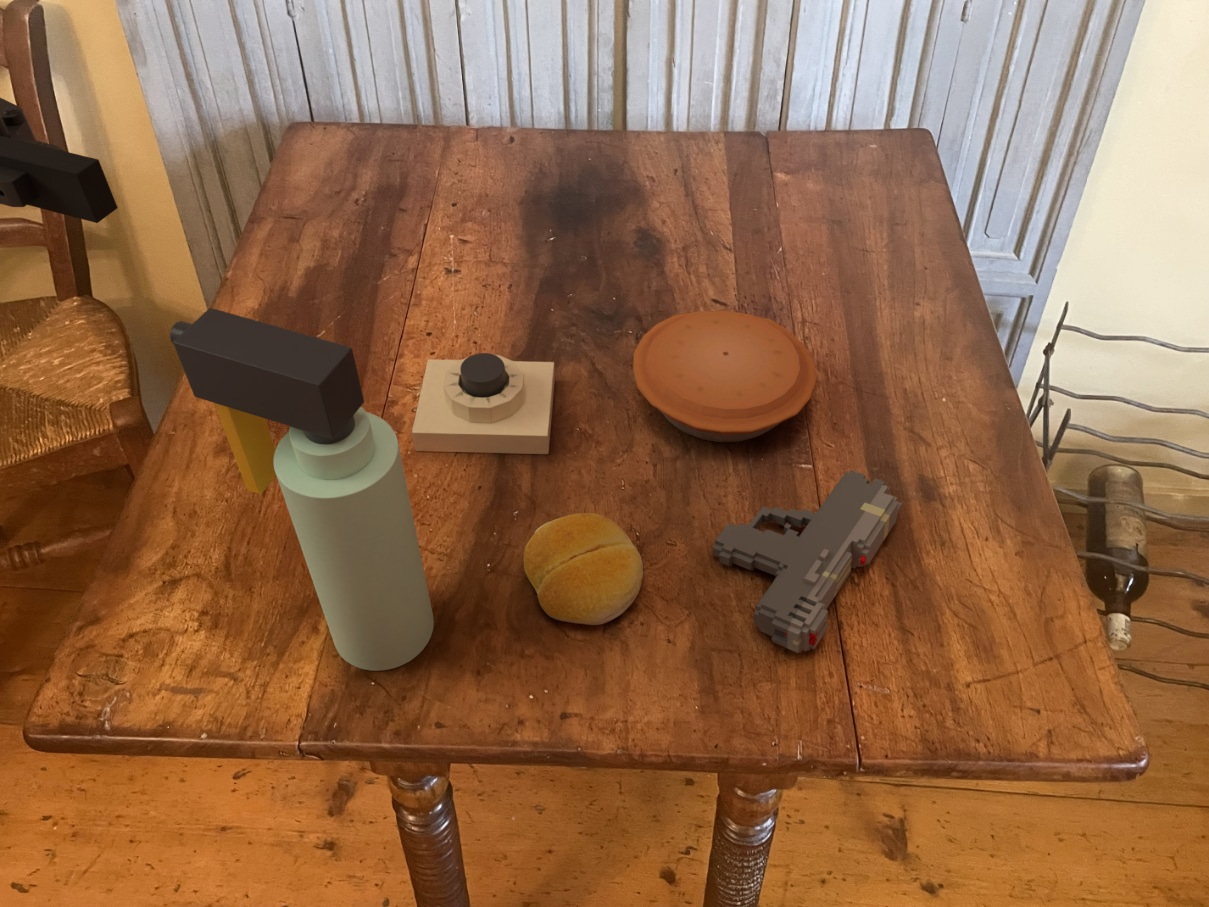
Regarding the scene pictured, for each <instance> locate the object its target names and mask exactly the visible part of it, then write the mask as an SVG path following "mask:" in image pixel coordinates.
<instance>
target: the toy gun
mask: <svg viewBox="0 0 1209 907" xmlns="http://www.w3.org/2000/svg"><path fill="white" fill-rule="evenodd" d="M885 484H886V481H884V480H882V479H879V478H874V479H873V481H872V482H871V483H870V479H867V478H866V474H864V473H862V472H858V471H855V470H852V469H850V470H849V471H848V472H846V471H845V472H844V474H843V475H842V476H841V478H840V479H839V481H838V482H836V484H835V486H834V487H833V489H832V490H831V491H830V493H829V495H827V497H826V499H825V500H824V501H823V503H822V504H821V505H820V507H819V508H818V509H817V511H816V512H813V511H811V510H808V509H806V508H802V510H797V509H794V508H790V509H789V510H786V509H783V508H780V507H777V506H773V508H769V507H767V506H764V505H763V506H762V507H760V509H759V510H758V512H757V513H756V514H755V515H754V517H753V518H752V520H750V523H748V525H747V524H744V523H739V524H738V525H736V524H734V523H730V522H729V523H727V524H726V526H725V527H724V528H723V529H722V530H721V532H720V533H719V534H718V536H717V537H716V538H715V540H714V545H713V546H712V555H713V556H715V557H717V558H718V559H719V560H718V561H719V563H721V564H722V565H725V566H728V567H733V566H734V565H737V566H739V567H741V568H744V569H746V570H748V571H753V572H754V571H755V569H758V570H759V571H762V572H765V573H767V574H769V575H772V576H775V578H774V580H773V582H772V583H771V584H770V586H769V587H768V589H767V590H766V591H765V592H764V594H763V596H762V597H761V598H760V600H759V601H758V603H756V606H755V610H754V612H753V626H756V627H758V631H759V632H761V633H764V634H766V635H768V636H771V642H772V643H775V644H777V645H779V646H781V647H783V648H786V649H788V650H790V651H792V652H794V653H797V654H799V653H802V651H804V652H809V651H810V649H811V650H815V649H816V647H817V646H818V644H819V643H820V641H821V640H822V639H823V636H824V635H825V633H826V632H827V630H828V617H829V611H828V610H827V609H828V608H829V606H830V605H831V603H832V602H833V600H834V598H835V597H836V595H837V594H838V592H839V591H840V589H841V588H842V587H843V585H844V583H845V582H846V580H847V579H848V577H849V576H850V574H851V572H852V571H851V570H852V568H853V569H856V568H857V567H859V568H863V567H864V566H869V565H870V564H871V561H872V560H873V558H874V557H875V555H876V553H877V552H878V550H879V549H880V547H881V546H882V545H883V543H884V541H885V539H886V538H887V536H888V535H889V533H890V532H891V530H892V528H893V527H894V525H895V524H896V522H897V517H898V513H899V511H900V510H901V508H902V505H903V503H902V502H900V501H898V497H897V496H894V495H891V494H890V486H889V485H888V486H887V485H885ZM769 522H773V523H776V524H779V525H781V526H783V534H781V533H779V532H776V531H773V530H770V529H766V530H765V531H762V530H760V529H759V527H760V526H761V525H762V523H765V524H769ZM792 526H795V527H797V528H802V527H803V526H805V528H804V529H803V530H802V532H801V534H799V532H798V531H796V530H793V529H792Z"/></svg>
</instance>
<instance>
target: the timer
mask: <svg viewBox="0 0 1209 907" xmlns="http://www.w3.org/2000/svg"><path fill="white" fill-rule="evenodd" d="M495 355H496V356H498V357H499V358H500V359H501V360H502V361H503V362H504V365H505V376H506V384H505V387H504V388H503V390H502V391H501V392H499V393H498V394H496V395H494V396H491V397H485V398H481V397H475V396H472V395H470V394H468V393H467V392H466V391H465V390H464V388H463V386H462V378H461V370H460V368H461V365H462V363H463V361H464V360H465V359H467V358H468V357H465V358H462V359H441V358H440V359H436V358H435V359H434V358H428V359H427V362H426V365H425V366H426V367H425V371H424V375H423V380H422V384H421V389H420V394H419V398H418V402H417V407H416V412H415V416H414V420H413V424H412V429H411V436H412V441H413V446H414V451H415V452H434V453H435V452H437V453H438V452H439V453H441V452H442V453H475V454H476V453H479V454H518V455H519V454H520V455H549V453H550V443H551V442H550V441H551V430H552V420H553V418H552V417H553V405H554V395H555V382H556V378H555V373H556V372H555V362H554V361H525V360H523V361H521V360H519V361H518V360H512V359H510V358H506V357H505V356H502V355H500V354H495Z"/></svg>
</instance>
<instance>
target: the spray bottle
mask: <svg viewBox="0 0 1209 907" xmlns="http://www.w3.org/2000/svg"><path fill="white" fill-rule="evenodd" d="M169 339H170V342H171V344H172V345H173V346H174V348H175V351H176V353H177V356H178V359H179V362H180V364H181V367H182V369H183V372H184V374H185V377H186V379H187V381H188V384H189V386H190V389H191V391H192V394H193V397H195V398H198V399H200V400H204V401H207V402H210V403H213V404H214V403H217V404H220V405H223V406H226V407H229V408H233V409H236V410H239V411H242V412H246V413H249V414H252V415H255V416H259V417H262V418H265V419H266V420H269V421H272V422H274V423H275V422H276V423H278V424H282V425H284V426H288V427H289V430H288V431H287V432H286V433H285V434H284V435H283V437H282V438H281V439H280V440H279V442H278V444H277V446H276V447H275V449H276V451H275V454H274V470H275V473H276V480H277V481H278V485H279V487H280V490H281V493H282V496H283V499H284V502H285V505H286V507H287V511H288V514H289V517H290V519H291V522H292V525H293V528H294V532H295V534H296V537H297V540H298V542H299V546H300V548H301V551H302V554H303V557H304V560H305V563H306V566H307V569H308V572H309V574H310V577H311V580H312V583H313V586H314V589H315V592H316V596H317V598H318V601H319V604H320V607H321V609H322V613H323V616H324V618H325V621H326V624H327V628H328V630H329V633H330V636H331V638H332V642H333V644H334V647H335V650H336V651H337V653H338V655H339V656H340V657H341V658H342V659H343V660H344V661H345V662H346V663H348V664H350V665H351V666H352V667H355V668H358V669H361V670H365V671H372V672H373V671H375V672H379V671H388V670H392V669H393V670H394V669H395V668H398V667H401V666H403V665H405V664H407V663H409V662H411V661H412V660H414V659H415V658H416V657H417V656H419V654H421V652H422V651H423V650H425V648H426V647H427V645H428V644H429V642H430V639H431V637H432V635H433V632H434V626H435V619H434V613H433V608H432V603H431V597H430V593H429V588H428V584H427V579H426V574H425V568H424V563H423V558H422V552H421V548H420V543H419V538H418V534H417V529H416V523H415V519H414V514H413V513H414V512H413V509H412V504H411V500H410V495H409V494H410V493H409V488H408V484H407V479H406V474H405V469H404V464H403V460H402V456H401V455H402V454H401V448H400V445H399V440H398V436H397V434H396V432H395V430H394V429H393V427H392V426H391V425H390V424H389V423H388V422H387V421H386V420H384V419H383V418H381V417H380V416H378V415H376V414H373V413H370V412H368V411H366V410H365V409H364V408H363V407H362V406H363V404H365V399H364V394H363V391H362V386H361V381H360V376H359V372H358V369H357V364H356V359H355V355H354V351H353V347H352V346H348V345H344V344H341V343H338V342H334V341H331V340H326V339H323V338H319V337H316V336H312V335H308V334H305V333H302V332H298V331H295V330H291V329H288V328H284V327H280V326H277V325H273V324H269V323H266V322H263V321H260V320H255V319H252V318H249V317H245V316H241V315H237V314H234V313H230V312H227V311H224V310H221V309H217V308H213V307H209V308H208V309H207V310H206V311H204V312H203V313H202V314H201V315H200V316H199V317H198V318H197V319H196V320H195V321H194V322H192V323H190V322H187V321H183V320H178V321H177V322H175V323H174V324H173V325H172V327H171V328H170V332H169Z"/></svg>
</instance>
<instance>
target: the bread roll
mask: <svg viewBox="0 0 1209 907" xmlns="http://www.w3.org/2000/svg"><path fill="white" fill-rule="evenodd" d="M523 551H524V552H523V569H524V573H525V575H526V577H527V579H528V581H529V582H530V583H531V585H532V587H533V588H534V590H535V593H536V594H537V600H538V603H539V605H540V607H541V609H542V610H543V611H544V613H545V614H546V615H548V617H550V618H553V619H554V620H557V621H560V622H567V623H573V624H579V625H581V624H582V625H588V626H600V625H604V624H606V623H608V622H611V621H613V620H615V619H616V618H618V617H619V616H621V615H622V614H623V613H625V612H626V610H627V609H628V608H630V606H631V605H632V604H633V603H634V601H635V600H636V598H637V596H638V595H639V593H640V590H641V588H642V582H643V577H644V570H643V569H644V566H643V559H642V556H641V553H640V552H639V550H638V549H637V547H636V546H635V544H634V543H633V542H632V540H631V539H630V537H629V536H628V535H627V533H626V532H625V531H624V530H623V528H622V527H621V526H619V525H618V524H617V523H615V522H614V521H613V520H611V519H610V518H608V517H606V516H603V515H601V514H598V513H594V512H577V513H573V514H567V515H564V516H561V517H558V518H556V519H555V518H554V520H551V521H547V522H545V523H543V524H542V525H540V526H539V527H538V528H536V529H535V531H534V534H532V536H531V537H530V539H529V540H528V542H527V543H526V545H525V547H524V550H523Z"/></svg>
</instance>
